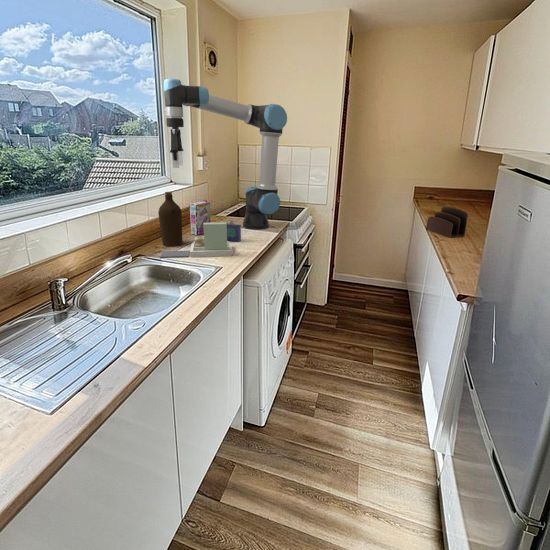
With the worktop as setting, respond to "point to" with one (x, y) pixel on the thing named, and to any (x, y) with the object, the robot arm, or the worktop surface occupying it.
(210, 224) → the panel
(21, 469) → the worktop surface
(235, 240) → the flask
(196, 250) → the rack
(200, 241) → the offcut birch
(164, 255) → the mat
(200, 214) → the candy bar box
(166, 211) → the olive oil
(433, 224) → the letter holder
